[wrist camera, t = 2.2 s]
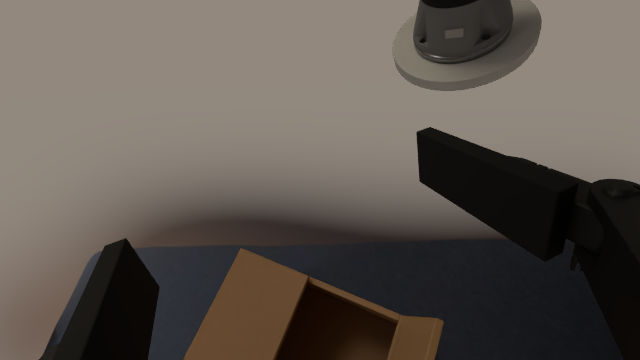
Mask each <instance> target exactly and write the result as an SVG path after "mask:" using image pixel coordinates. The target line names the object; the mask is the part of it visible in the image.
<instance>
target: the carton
mask: <svg viewBox="0 0 640 360" xmlns="http://www.w3.org/2000/svg"><path fill="white" fill-rule="evenodd" d="M402 317H403V315H400V314H398V313H396V312H393V311H391V310H388V309H386V308H384V307H381V306H379V305H376V304H374V303H372V302H369V301H367V300H364V299H362V298H360V297H357V296H355V295H352V294H350V293H348V292H345V291H343V290H341V289H338V288H336V287H333V286H331V285H329V284H326V283H324V282H321V281H319V280H317V279H314V278H312V277H309V276H307V275H305V274H302V273H300V272H297V271H295V270H293V269H290V268H288V267H285V266H283V265H281V264H278V263H276V262H273V261H271V260H269V259H266V258H264V257H261V256H259V255H257V254H254V253H252V252H249V251H247V250H245V249H242V248H241V249H240V251H239V253H238V255H237V257H236V259H235V261H234V263H233V265H232V266H231V268H230V270H229V272H228V274H227V276H226V278H225V280H224V282H223V284H222V286H221V288H220V290H219V292H218V293H217V295H216V297H215V299H214V301H213V303H212V305H211V307H210V309H209V311H208V313H207V315H206V317H205V319H204V320H203V322H202V324H201V326H200V328H199V330H198V332H197V334H196V336H195V338H194V340H193V342H192V344H191V346H190V348H189V349H188V351H187V353H186V355H185V357H184V359H183V360H390V358H391V355H392V351H393V348H394V345H395V341H396V338H397V334H398V331H399V328H400V324H401V321H402Z"/></svg>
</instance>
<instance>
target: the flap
mask: <svg viewBox="0 0 640 360" xmlns="http://www.w3.org/2000/svg"><path fill="white" fill-rule="evenodd" d="M443 324H444V321H442V320H440V319H438V318H428V317H414V316H403V317H402V321H401V324H400V328H399V331H398V334H397V338H396V341H395V345H394V348H393V351H392V355H391V358H390V360H435V356H436V352H437V348H438V344H439V340H440V336H441V332H442V328H443Z"/></svg>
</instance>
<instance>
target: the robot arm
mask: <svg viewBox="0 0 640 360" xmlns="http://www.w3.org/2000/svg"><path fill="white" fill-rule="evenodd" d="M512 24H513V8H512V5H511V1H510V0H420V2H419V7H418V11H417V16H416V20H415V25H414V30H413V40H414V46H415V49H416V51H417V53H418V54H419V55H420V56H421V57H422V58H424V59H426V60H428V61H431V62H434V63H440V64H457V63H464V62H468V61H472V60H475V59H478V58H480V57H483V56H485V55H487V54H489V53H491V52H492V51H494V50H495V49H497V48H498V47H499V46H500V45H501V44H502V43H503V42H504V41H505V40H506V39H507V38H508V36H509V34H510V32H511V29H512ZM417 146H418V163H419V178H420V182H421V183H423V184H425V185H426V186H428V187H429V188H431V189H432V190H434V191H435V192H437V193H438V194H440V195H442V196H443V197H445V198H446V199H448V200H449V201H451V202H452V203H454V204H456V205H457V206H459V207H461V208H462V209H463V210H465V211H466V212H468V213H470V214H471V215H473V216H474V217H476V218H478V219H479V220H480V221H482V222H484V223H485V224H487V225H488V226H490V227H491V228H493V229H495V230H496V231H498V232H499V233H501V234H502V235H504V236H505V237H507V238H509V239H510V240H512V241H513V242H515V243H516V244H518V245H519V246H521V247H523V248H524V249H526V250H527V251H529V252H530V253H532V254H534V255H535V256H537V257H538V258H540V259H541V260H543V261H544V262H546V261H548V260H549V259H551V258H553V257H555V256H557V255H559V254H561V253H562V252H563V248H564V244H565V240H566V238H567V239H568V240H570V241H572V242H574V243H576V244H575V247H574V251H573V255H572V259H571V263H570V270H575V267H576V264H577V263H578V262H579V263H580V266H581V271H583V272H584V274H585V276H586V278H587V281H588V283H589V285H590V287H591V289H592V291H593V294H594V296H595V298H596V300H597V302H598V304H599V307H600V309H601V311H602V313H603V315H604V317H605V319H606V322H607V324H608V326H609V328H610V330H611V332H612V335H613V337H614V339H615V341H616V343H617V345H618V348H619V350H620V352H621V354H622V356H623V358H624V360H640V185H639V184H636V183H634V182H630V181H625V180H618V179H603V180H598V181H596V182H593V183H589V182H587V181H584V180H581V179H579V178H576V177H573V176H570V175H568V174H565V173H562V172H559V171H556V170H554V169H548V167H546V166H543V165H540V164H539V165H537V163H535V162H532V161H529V160H526V159H523V158H518V157H512V156H506V155H503V154H500V153H498V152H495V151H492V150H490V149H487V148H484V147H482V146H479V145H476V144H474V143H471V142H469V141H466V140H463V139H460V138H458V137H455V136H453V135H450V134H447V133H444V132H442V131H439V130H437V129H434V128H431V127H429V128H426V129H424V130H421V131H418V132H417ZM159 288H160V287H159V286H158V284H157V283H156V281H155V280H154V278H153V277H152V275H151V274H150V272H149V271H148V269H147V268H146V267H145V265H144V264H143V262H142V261H141V259H140V258H139V256H138V255H137V253H136V252H135V250H134V249H133V248H132V246H131V245H130V243H129V242H128V240H127V239H126V238H125V239H123V240H120V241H117V242H114V243H112V244H109V245H106V246H105V247H104V249H103V251H102V253H101V255H100V258H99V260H98V262H97V264H96V266H95V268H94V270H93V273H92V275H91V277H90V279H89V281H88V283H87V286H86V288H85V290H84V292H83V294H82V296H81V298H80V301H79V303H78V305H77V307H76V309H75V311H74V314H73V316H72V318H71V320H70V322H69V324H68V326H67V329H66V331H65V333H64V335H63V337H62V339H61V342H60V343H58V344H56V345H54V346H51V347H49V348H48V349H47V351H46V352H45V353H44V354H43V355H42V357H41V358H40V359H39V360H148V354H149V348H150V342H151V336H152V330H153V324H154V318H155V312H156V306H157V300H158V294H159Z"/></svg>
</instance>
